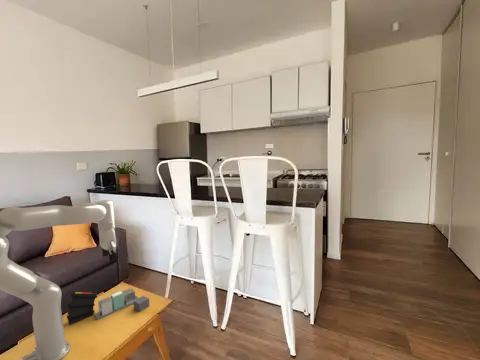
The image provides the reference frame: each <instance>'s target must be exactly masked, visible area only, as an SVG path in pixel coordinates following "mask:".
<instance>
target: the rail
mask: <svg viewBox="0 0 480 360" xmlns="http://www.w3.org/2000/svg"><path fill="white" fill-rule="evenodd" d="M121 292H122V293H123V297H124V306H123V307H120V308H118V309H116V310H114V309H113V308H112V300H111V297H109V296H106V297H104V298H101V299H100V300H97V304H98V312H96V313H94V315H93V316H94V318H95V320H97V321H98V320H100V319H103V318H105V317H107V316H109V315H111V314H113V313H116V312H118V311H120V310H122V309H124V308H127V307H129V306H131V305H134V302H133V301H135V300H136V299H138V298H139V296H137V295H136V292H135V290H134V288H132V287H129V288H126V289H123V290H122V291H121Z"/></svg>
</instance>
